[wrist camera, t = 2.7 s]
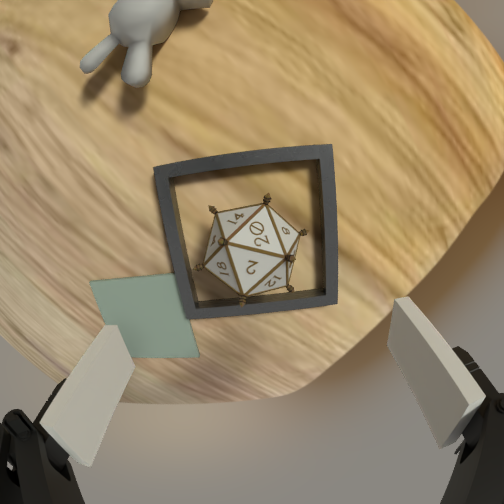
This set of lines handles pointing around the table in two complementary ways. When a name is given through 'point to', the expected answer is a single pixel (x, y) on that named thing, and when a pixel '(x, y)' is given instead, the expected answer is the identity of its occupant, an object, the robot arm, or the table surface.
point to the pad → (147, 315)
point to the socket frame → (262, 302)
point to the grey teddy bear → (138, 35)
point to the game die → (251, 249)
